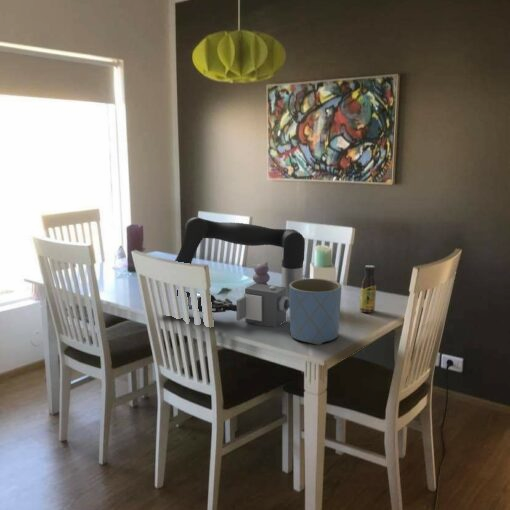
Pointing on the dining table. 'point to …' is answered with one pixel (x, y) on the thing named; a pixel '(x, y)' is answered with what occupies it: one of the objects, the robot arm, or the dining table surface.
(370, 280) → the sauce bottle
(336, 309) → the planter
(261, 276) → the cat figurine
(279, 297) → the camera housing
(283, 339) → the dining table surface
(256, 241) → the robot arm
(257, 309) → the side door
